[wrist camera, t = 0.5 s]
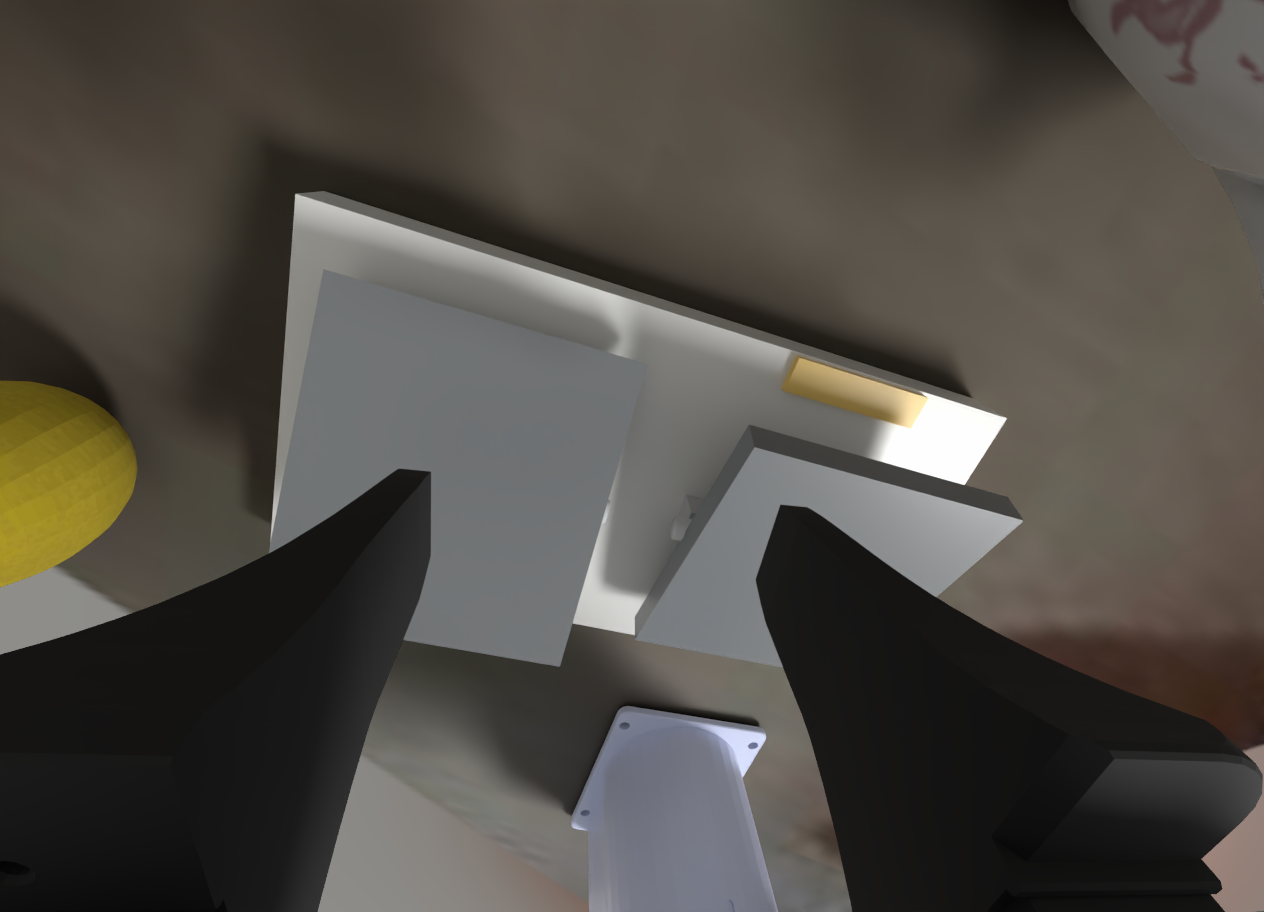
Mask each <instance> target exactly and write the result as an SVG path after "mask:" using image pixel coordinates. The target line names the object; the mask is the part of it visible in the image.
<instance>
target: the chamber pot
mask: <svg viewBox="0 0 1264 912" xmlns="http://www.w3.org/2000/svg"><path fill="white" fill-rule="evenodd" d="M1068 3H1069V6H1070V9H1071V11H1072V13H1073V14H1074V15H1075V16H1076V18H1077V19H1078V20H1079V21H1080V23H1081V24H1082V25H1083V26H1084V28H1085V29H1086V30H1087V31H1088V33H1089V34H1090V35H1091V36H1092V38H1093V39H1094V40H1095V41H1096V42H1097V44H1098V45H1099V46H1100V47H1101V49H1102V50H1103V51H1104V52H1105V54H1106V55H1107V56H1108V57H1109V59H1110V60H1111V61H1112V62H1113V63H1114V64H1115V66H1116V67H1117V68H1118V69H1119V70H1120V72H1121V73H1122V74H1123V75H1124V76H1125V78H1126V79H1127V80H1128V81H1129V82H1130V83H1131V85H1132V86H1133V87H1134V88H1135V89H1136V91H1137V92H1138V93H1139V94H1140V95H1141V96H1142V98H1143V99H1144V100H1145V101H1146V102H1147V104H1148V105H1149V106H1150V107H1151V108H1152V109H1153V111H1154V112H1155V113H1156V114H1157V115H1158V117H1159V118H1160V119H1161V120H1162V121H1163V122H1164V124H1165V125H1166V126H1167V127H1168V128H1169V130H1170V131H1171V132H1172V133H1173V134H1174V136H1175V137H1176V138H1177V139H1178V140H1179V141H1180V143H1181V144H1182V145H1183V146H1184V147H1185V149H1186V150H1187V151H1188V152H1189V153H1190V154H1191V156H1192V157H1193V158H1194V159H1195V160H1197V161H1200V162H1202V163H1205V164H1207V165H1210V166H1211V167H1212V169H1213V170H1214V172H1215V174H1216V175H1217V177H1218V179H1219V181H1220V182H1221V184H1222V186H1223V188H1224V189H1225V191H1226V193H1227V195H1228V196H1229V198H1230V200H1231V201H1232V203H1233V205H1234V208H1235V210H1236V212H1237V215H1238V217H1239V220H1240V222H1241V225H1242V227H1243V230H1244V232H1245V235H1246V237H1247V239H1248V242H1249V244H1250V247H1251V249H1252V252H1253V254H1254V257H1255V259H1256V262H1257V265H1258V271H1259V277H1260V284H1261V290H1262V296H1263V303H1264V0H1068Z"/></svg>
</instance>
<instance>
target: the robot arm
mask: <svg viewBox="0 0 1264 912" xmlns="http://www.w3.org/2000/svg"><path fill="white" fill-rule="evenodd" d="M430 557H431V471H420V470H409V469H397V470H396V471H394V472H393V473H391V474H390V475H388V476H387V477H386V478H384V479H383V480H381V481H380V482H379V483H377V484H376V485H375V486H373V487H372V488H370V489H369V490H368V491H366V492H365V493H363V494H362V495H361V496H359V497H358V498H357V499H355V500H354V501H352V502H351V503H349V504H348V505H346V506H345V507H344V508H342V509H341V510H339V511H338V512H336V513H335V514H333V515H332V516H330V517H329V518H327V519H326V520H324V521H322V522H321V523H319V524H318V525H316V526H314V527H313V528H311V529H310V530H308V531H306V532H305V533H303V534H301V535H300V536H298V537H297V538H295V539H293V540H292V541H290V542H288V543H287V544H285V545H283V546H281V547H280V548H278V549H276V550H274V551H272V552H271V553H269V554H267V555H265V556H263V557H261V558H259V559H257V560H255V561H253V562H251V563H249V564H247V565H245V566H243V567H241V568H239V569H237V570H235V571H233V572H231V573H229V574H227V575H225V576H223V577H220V578H218V579H216V580H213V581H211V582H209V583H206V584H204V585H202V586H199V587H197V588H194V589H192V590H190V591H187V592H185V593H183V594H180V595H178V596H175V597H173V598H171V599H168V600H166V601H164V602H161V603H159V604H156V605H153V606H151V607H148V608H145V609H143V610H140V611H137V612H134V613H132V614H129V615H126V616H123V617H121V618H118V619H115V620H112V621H109V622H106V623H103V624H100V625H97V626H94V627H91V628H88V629H85V630H82V631H79V632H76V633H73V634H70V635H66V636H64V637H60V638H57V639H54V640H50V641H47V642H43V643H40V644H36V645H33V646H29V647H25V648H22V649H18V650H15V651H11V652H8V653H4V654H1V655H0V912H317V911H318V907H319V904H320V900H321V896H322V892H323V888H324V884H325V881H326V877H327V873H328V869H329V865H330V862H331V858H332V855H333V851H334V847H335V843H336V840H337V835H338V832H339V829H340V825H341V822H342V818H343V814H344V811H345V807H346V804H347V800H348V797H349V793H350V789H351V785H352V782H353V779H354V775H355V772H356V768H357V765H358V762H359V758H360V755H361V752H362V748H363V745H364V742H365V738H366V735H367V731H368V728H369V725H370V722H371V719H372V716H373V713H374V711H375V708H376V705H377V702H378V700H379V697H380V695H381V692H382V690H383V687H384V685H385V683H386V680H387V678H388V675H389V673H390V670H391V668H392V666H393V663H394V661H395V658H396V656H397V653H398V651H399V649H400V646H401V644H402V641H403V639H404V636H405V634H406V632H407V629H408V627H409V624H410V622H411V619H412V617H413V614H414V612H415V609H416V607H417V604H418V602H419V599H420V595H421V592H422V588H423V584H424V581H425V577H426V573H427V569H428V565H429V561H430ZM756 584H757V589H758V593H759V598H760V603H761V607H762V610H763V614H764V618H765V622H766V625H767V627H768V630H769V633H770V635H771V638H772V640H773V643H774V646H775V648H776V651H777V653H778V656H779V658H780V661H781V663H782V666H783V668H784V671H785V673H786V676H787V678H788V681H789V683H790V686H791V688H792V691H793V693H794V696H795V698H796V701H797V703H798V706H799V708H800V711H801V713H802V716H803V719H804V722H805V725H806V727H807V730H808V733H809V736H810V739H811V743H812V746H813V750H814V753H815V757H816V761H817V764H818V768H819V771H820V775H821V778H822V782H823V786H824V790H825V794H826V797H827V801H828V805H829V809H830V813H831V817H832V821H833V825H834V829H835V833H836V837H837V842H838V846H839V851H840V855H841V860H842V865H843V869H844V874H845V878H846V883H847V887H848V892H849V896H850V901H851V906H852V912H1225V911H1224V910H1223V909H1222V908H1221V907H1220V905H1219V904H1218V903H1217V902H1216V901H1215V899H1214V898H1213V897H1212V896H1211V895H1210V894H1217V893H1218V892H1219V891H1221V890H1222V886H1221V881H1220V880H1219V879H1218V878H1217V877H1216V875H1215V874H1214V873H1213V872H1212V871H1211V870H1210V869H1209V867H1208V866H1207V865H1206V864H1205V863H1204V862H1203V861H1202V860H1201V858H1203V857H1204V856H1205V855H1206V854H1207V853H1208V852H1209V851H1210V850H1212V849H1213V848H1214V847H1215V846H1216V845H1217V844H1218V843H1219V842H1220V841H1221V840H1222V839H1224V838H1225V837H1226V836H1227V835H1228V834H1229V833H1230V832H1231V831H1232V830H1233V829H1235V828H1236V827H1237V826H1238V825H1239V824H1240V823H1241V822H1242V821H1243V820H1244V819H1245V818H1246V817H1247V816H1248V814H1249V813H1250V812H1251V811H1252V810H1253V809H1254V808H1255V806H1256V804H1257V802H1258V800H1259V798H1260V796H1261V794H1262V773H1261V771H1260V770H1259V768H1258V766H1257V765H1256V763H1254V762H1253V761H1252V760H1251V759H1250V758H1249V757H1248V756H1247V755H1246V754H1245V753H1243V752H1242V751H1241V750H1240V749H1239V748H1238V747H1237V746H1236V745H1235V744H1234V743H1232V742H1231V741H1230V740H1229V739H1228V738H1227V737H1226V736H1225V735H1224V734H1223V733H1222V732H1220V731H1219V730H1218V729H1217V728H1215V727H1214V726H1213V725H1211V724H1210V723H1208V722H1207V721H1205V720H1203V719H1200V718H1198V717H1195V716H1192V715H1189V714H1187V713H1184V712H1181V711H1178V710H1176V709H1173V708H1170V707H1167V706H1165V705H1162V704H1159V703H1156V702H1154V701H1151V700H1148V699H1146V698H1143V697H1140V696H1137V695H1135V694H1132V693H1129V692H1126V691H1124V690H1121V689H1119V688H1116V687H1114V686H1111V685H1109V684H1107V683H1104V682H1102V681H1099V680H1097V679H1095V678H1092V677H1090V676H1088V675H1085V674H1083V673H1080V672H1078V671H1076V670H1073V669H1071V668H1069V667H1067V666H1064V665H1062V664H1060V663H1058V662H1056V661H1053V660H1051V659H1049V658H1047V657H1045V656H1043V655H1041V654H1039V653H1037V652H1035V651H1032V650H1030V649H1028V648H1026V647H1024V646H1022V645H1020V644H1018V643H1016V642H1014V641H1012V640H1010V639H1008V638H1006V637H1004V636H1002V635H1001V634H999V633H997V632H995V631H993V630H991V629H989V628H987V627H986V626H984V625H982V624H980V623H979V622H977V621H975V620H973V619H972V618H970V617H968V616H966V615H965V614H963V613H961V612H960V611H958V610H956V609H954V608H953V607H951V606H949V605H948V604H946V603H944V602H943V601H941V600H940V599H938V598H936V597H935V596H933V595H932V594H930V593H929V592H927V591H926V590H924V589H923V588H921V587H920V586H918V585H917V584H915V583H914V582H912V581H911V580H909V579H908V578H906V577H905V576H903V575H902V574H901V573H899V572H898V571H896V570H895V569H893V568H892V567H891V566H889V565H888V564H886V563H885V562H884V561H882V560H881V559H880V558H878V557H877V556H875V555H874V554H873V553H871V552H870V551H869V550H867V549H866V548H865V547H863V546H862V545H861V544H859V543H858V542H857V541H855V540H854V539H853V538H851V537H850V536H849V535H847V534H846V533H845V532H843V531H842V530H840V529H839V528H838V527H836V526H835V525H834V524H832V523H831V522H829V521H828V520H827V519H825V518H824V517H822V516H821V515H819V514H818V513H816V512H815V511H813V510H811V509H810V508H808V507H800V506H790V505H780V507H779V510H778V513H777V516H776V519H775V522H774V525H773V528H772V531H771V534H770V537H769V540H768V543H767V547H766V550H765V553H764V556H763V559H762V562H761V565H760V568H759V571H758V574H757V577H756ZM624 722H626V723H624ZM765 740H766V735H765V732H764V729H762V728H760V727H756V726H750V725H744V724H738V723H732V722H725V721H719V720H713V719H707V718H701V717H694V716H688V715H682V714H676V713H670V712H663V711H657V710H651V709H645V708H638V707H632V706H625V707H622V708H621V709H619V710H618V712H617V714H616V716H615V719H614V721H613V723H612V726H611V728H610V730H609V732H608V735H607V737H606V739H605V742H604V744H603V746H602V748H601V751H600V753H599V755H598V757H597V760H596V762H595V764H594V767H593V769H592V771H591V773H590V776H589V778H588V780H587V783H586V785H585V787H584V789H583V792H582V794H581V796H580V799H579V801H578V803H577V805H576V808H575V810H574V812H573V815H572V817H571V825H572V827H573V828H575V829H580V830H588V861H589V912H778V910H777V906H776V902H775V898H774V895H773V891H772V887H771V883H770V880H769V876H768V872H767V868H766V865H765V861H764V857H763V853H762V850H761V846H760V842H759V838H758V835H757V831H756V827H755V823H754V820H753V816H752V812H751V809H750V805H749V801H748V797H747V794H746V790H745V786H744V782H743V779H742V778H743V776H744V774H745V773H746V771H747V769H748V768H749V766H750V764H751V763H752V761H753V760H754V758H755V756H756V755H757V753H758V751H759V750H760V748H761V746H762V745H763V743H764V741H765ZM1257 912H1264V911H1257Z"/></svg>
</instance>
